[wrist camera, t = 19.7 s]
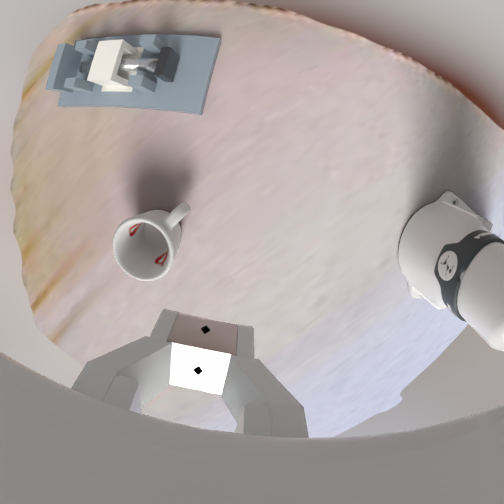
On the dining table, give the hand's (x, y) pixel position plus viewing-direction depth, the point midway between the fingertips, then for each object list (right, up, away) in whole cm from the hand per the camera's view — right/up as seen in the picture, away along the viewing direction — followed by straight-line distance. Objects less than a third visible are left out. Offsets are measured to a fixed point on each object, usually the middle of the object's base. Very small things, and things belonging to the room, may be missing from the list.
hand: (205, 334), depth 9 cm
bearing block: (-15, +28, +21) cm, 38 cm away
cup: (-10, +7, +29) cm, 31 cm away
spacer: (-16, +27, +19) cm, 37 cm away
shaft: (-15, +27, +19) cm, 36 cm away
